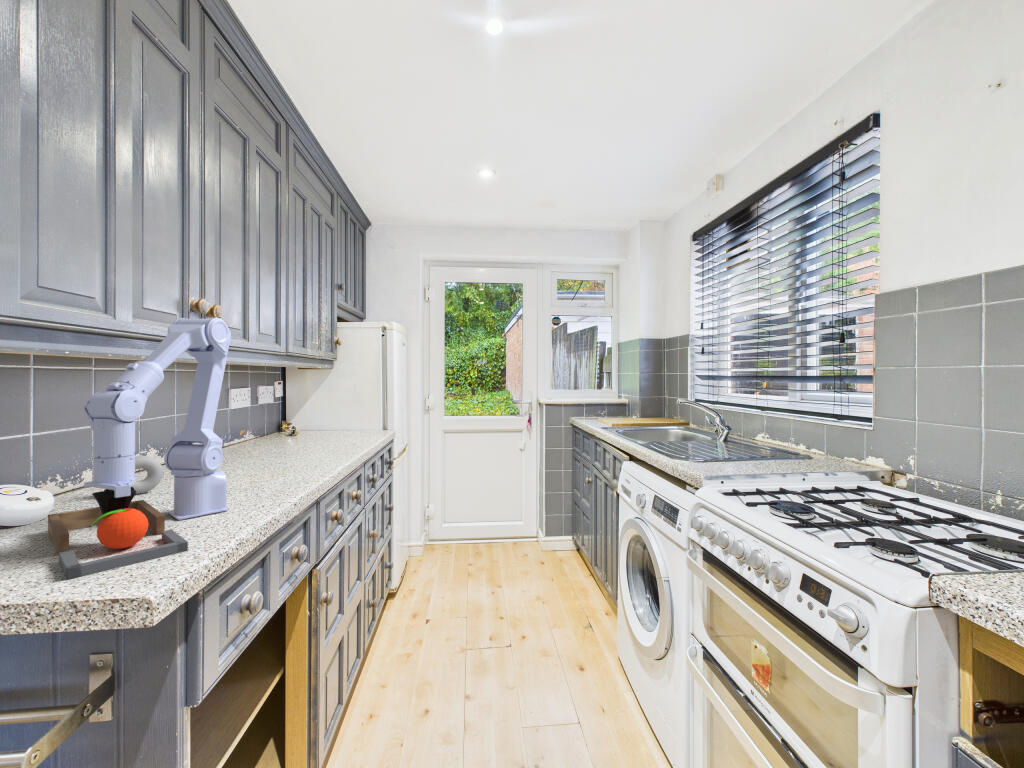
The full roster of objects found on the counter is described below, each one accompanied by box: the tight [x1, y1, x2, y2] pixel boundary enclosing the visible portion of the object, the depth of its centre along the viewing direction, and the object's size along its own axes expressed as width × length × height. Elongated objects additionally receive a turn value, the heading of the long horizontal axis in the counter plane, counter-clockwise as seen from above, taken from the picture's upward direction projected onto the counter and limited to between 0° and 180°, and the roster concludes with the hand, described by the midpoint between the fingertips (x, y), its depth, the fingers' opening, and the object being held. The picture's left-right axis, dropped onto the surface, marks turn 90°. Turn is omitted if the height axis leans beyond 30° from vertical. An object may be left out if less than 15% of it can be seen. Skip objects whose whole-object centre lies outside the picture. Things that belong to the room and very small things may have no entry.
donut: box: [131, 455, 164, 495], centre depth 115 cm, size 10×4×10 cm, turn 138°
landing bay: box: [58, 529, 189, 580], centre depth 75 cm, size 15×10×2 cm, turn 141°
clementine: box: [88, 508, 149, 550], centre depth 78 cm, size 8×7×7 cm
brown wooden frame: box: [47, 499, 166, 555], centre depth 86 cm, size 14×17×4 cm
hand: (114, 529), depth 81 cm, fingers closed
